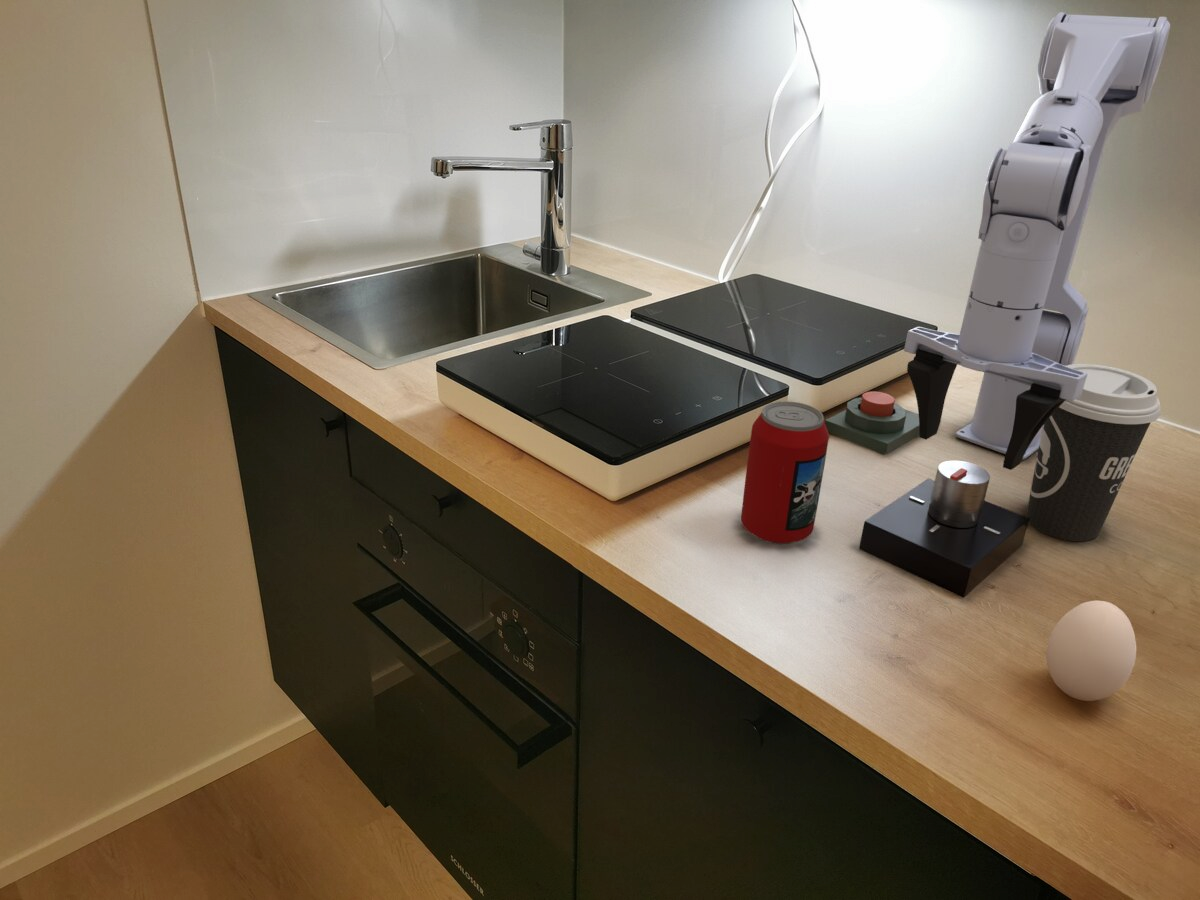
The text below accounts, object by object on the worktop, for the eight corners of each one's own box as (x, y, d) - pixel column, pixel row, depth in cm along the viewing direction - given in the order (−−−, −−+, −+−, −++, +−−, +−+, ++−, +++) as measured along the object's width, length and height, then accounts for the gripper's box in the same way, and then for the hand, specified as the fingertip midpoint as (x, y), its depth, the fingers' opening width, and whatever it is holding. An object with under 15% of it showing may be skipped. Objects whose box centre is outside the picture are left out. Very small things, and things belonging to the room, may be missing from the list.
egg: (1129, 696, 66) (1164, 608, 63) (1099, 731, 63) (1134, 641, 59) (1054, 658, 70) (1083, 572, 66) (1022, 689, 66) (1050, 602, 63)
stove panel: (922, 504, 90) (928, 476, 89) (1022, 545, 84) (1030, 516, 82) (858, 549, 82) (864, 519, 81) (963, 598, 76) (971, 567, 75)
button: (870, 402, 106) (872, 388, 105) (898, 412, 103) (901, 398, 103) (853, 410, 103) (856, 396, 103) (882, 421, 101) (884, 406, 100)
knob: (941, 497, 85) (952, 452, 83) (987, 516, 82) (999, 469, 80) (919, 514, 82) (929, 467, 80) (965, 533, 80) (977, 486, 77)
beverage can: (812, 554, 81) (833, 434, 76) (737, 544, 82) (751, 425, 77) (812, 516, 87) (831, 402, 82) (741, 507, 88) (755, 394, 83)
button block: (868, 407, 111) (872, 384, 110) (928, 429, 106) (934, 405, 105) (823, 430, 104) (826, 407, 103) (885, 455, 100) (890, 430, 98)
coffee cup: (1066, 559, 82) (1115, 408, 75) (988, 508, 90) (1025, 367, 83) (1140, 539, 86) (1193, 393, 79) (1058, 491, 93) (1100, 355, 87)
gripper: (900, 287, 75) (871, 434, 81) (1080, 332, 66) (1033, 495, 72) (939, 273, 80) (909, 414, 86) (1113, 314, 71) (1066, 468, 77)
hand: (968, 450), depth 79 cm, fingers open, 7 cm apart
